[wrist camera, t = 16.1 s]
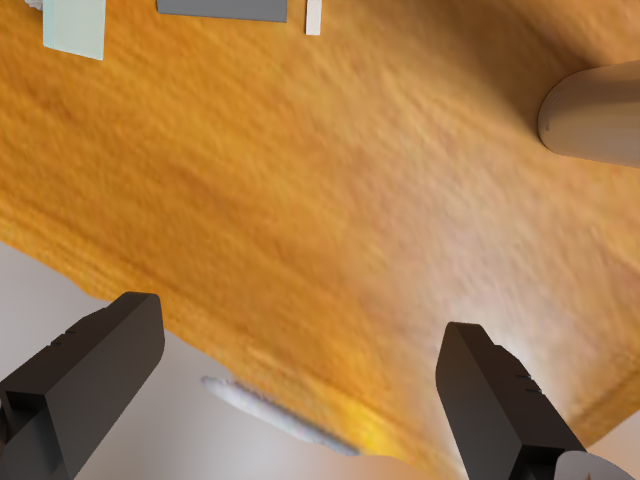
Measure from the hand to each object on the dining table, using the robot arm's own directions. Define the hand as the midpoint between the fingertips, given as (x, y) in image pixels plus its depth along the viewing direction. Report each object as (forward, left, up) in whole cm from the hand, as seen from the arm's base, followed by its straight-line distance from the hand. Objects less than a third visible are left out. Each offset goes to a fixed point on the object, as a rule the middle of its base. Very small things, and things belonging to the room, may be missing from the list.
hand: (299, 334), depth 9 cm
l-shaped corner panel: (+32, -17, -35) cm, 50 cm away
